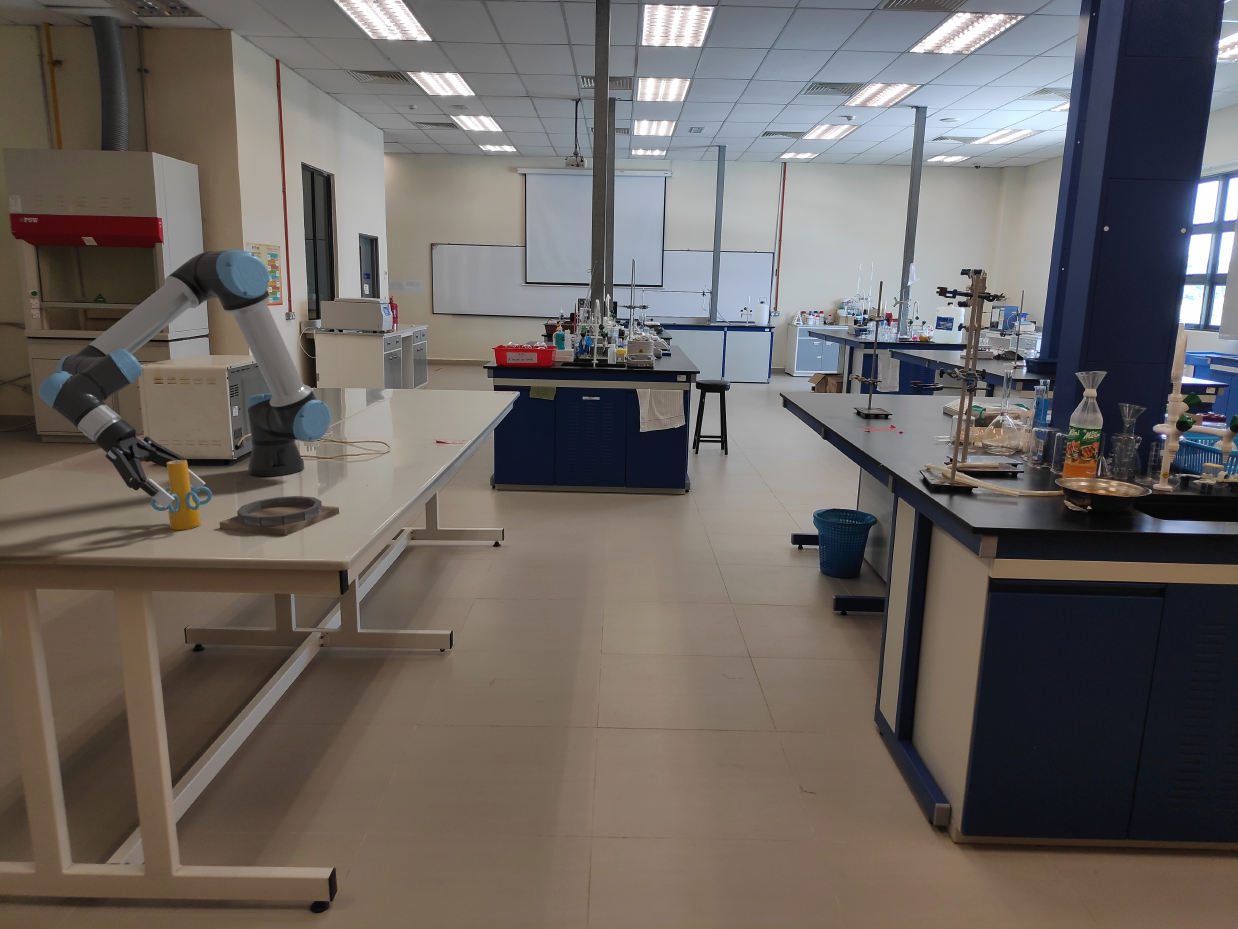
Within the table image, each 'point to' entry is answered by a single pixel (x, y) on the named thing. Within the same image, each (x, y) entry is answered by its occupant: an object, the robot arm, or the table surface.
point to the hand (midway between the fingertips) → (186, 495)
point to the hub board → (279, 527)
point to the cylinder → (182, 497)
